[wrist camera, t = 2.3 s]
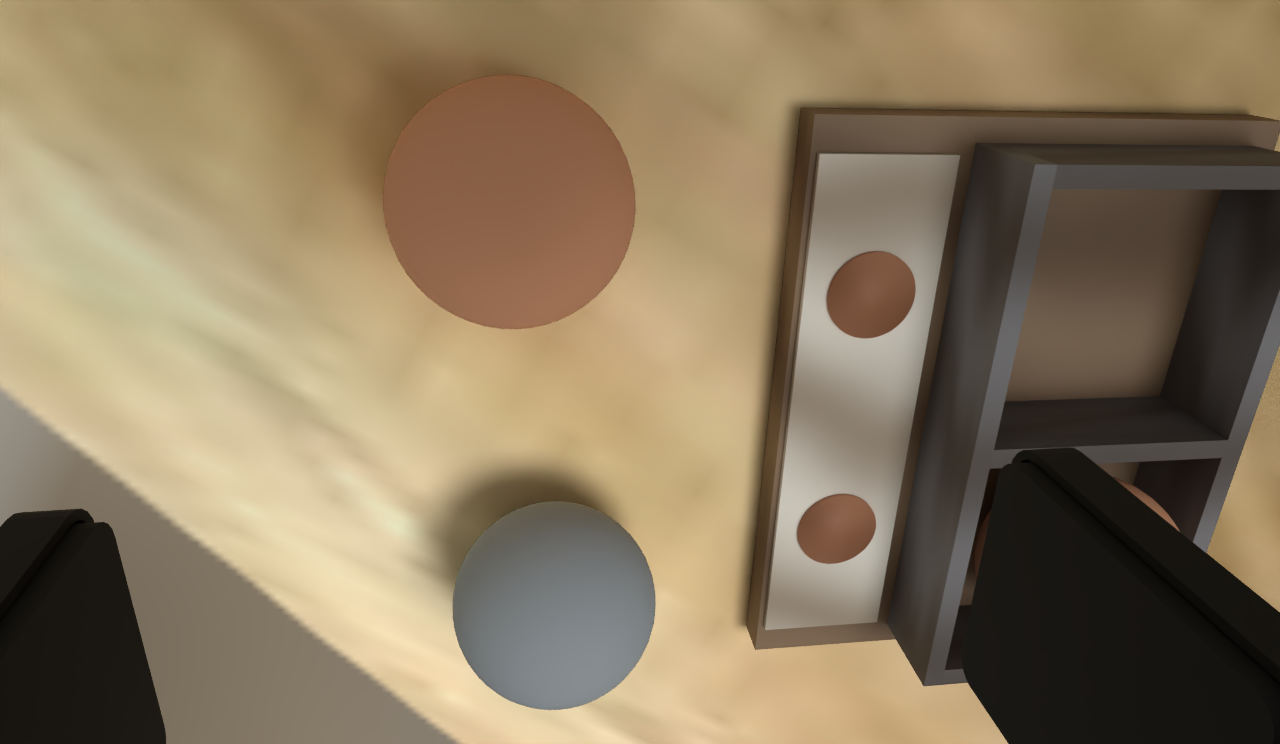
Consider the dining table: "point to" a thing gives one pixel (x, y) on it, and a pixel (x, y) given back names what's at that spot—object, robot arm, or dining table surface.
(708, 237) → the dining table surface
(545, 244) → the terracotta ball
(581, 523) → the slate ball
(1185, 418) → the grey divided tray
